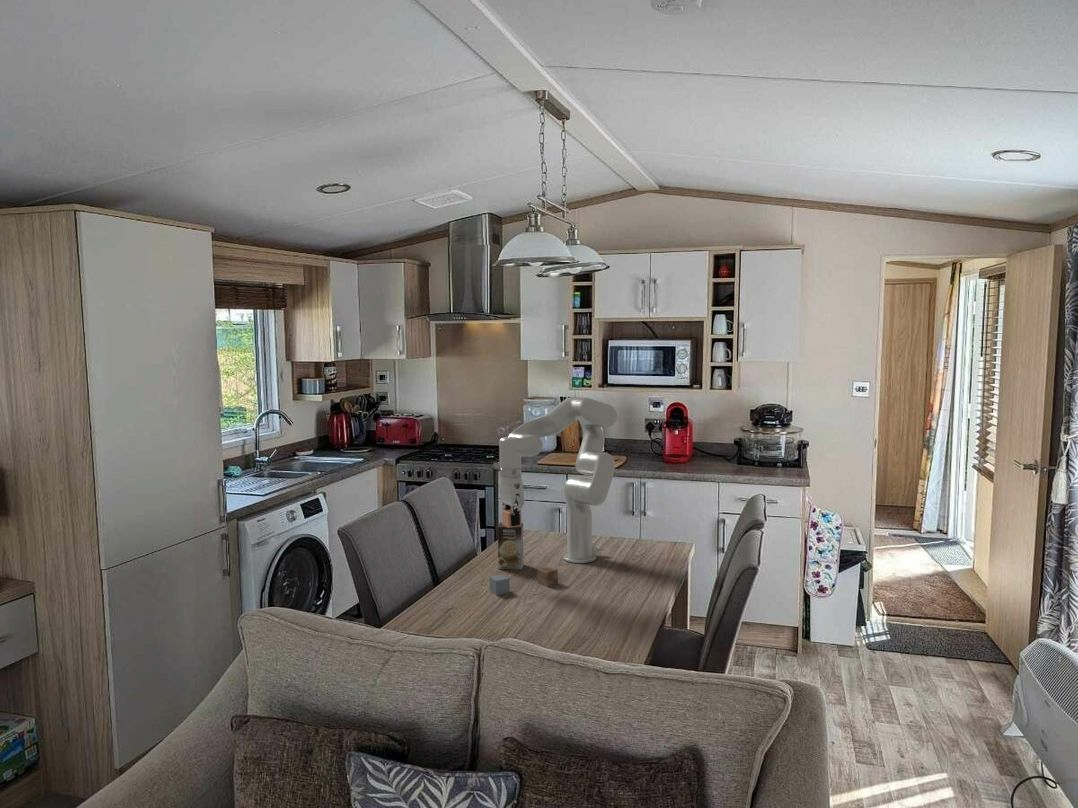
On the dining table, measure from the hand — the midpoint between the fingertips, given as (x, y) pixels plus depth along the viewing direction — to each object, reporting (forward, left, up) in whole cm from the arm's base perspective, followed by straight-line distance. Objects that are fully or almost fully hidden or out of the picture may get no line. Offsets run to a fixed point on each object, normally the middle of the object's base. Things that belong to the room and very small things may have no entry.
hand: (511, 523), depth 263 cm
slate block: (+9, +8, -21) cm, 24 cm away
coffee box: (-6, -14, -21) cm, 26 cm away
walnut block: (-9, +9, -21) cm, 24 cm away
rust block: (0, 0, -1) cm, 1 cm away
